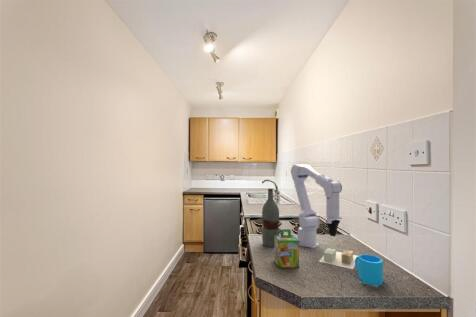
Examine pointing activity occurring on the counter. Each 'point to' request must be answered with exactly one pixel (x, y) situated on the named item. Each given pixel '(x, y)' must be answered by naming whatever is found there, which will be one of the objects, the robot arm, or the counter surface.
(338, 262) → the mat
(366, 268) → the mug
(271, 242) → the bottle
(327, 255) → the sage block
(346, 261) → the oak block
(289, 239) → the chalk box
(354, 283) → the counter surface
